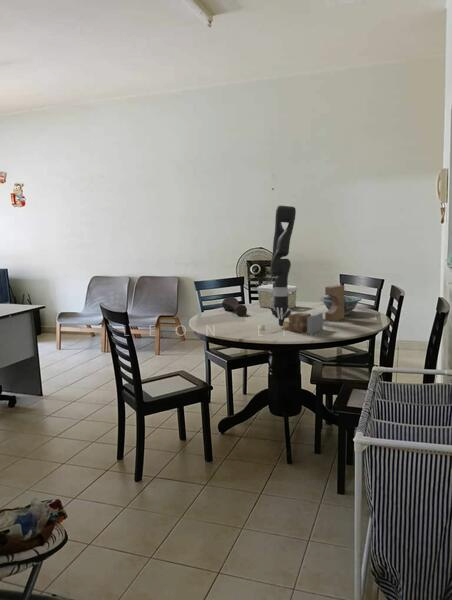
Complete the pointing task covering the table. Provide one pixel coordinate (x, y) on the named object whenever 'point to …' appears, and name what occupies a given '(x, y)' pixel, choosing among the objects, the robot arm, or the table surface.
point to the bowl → (349, 303)
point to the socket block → (298, 322)
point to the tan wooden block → (286, 325)
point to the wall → (314, 323)
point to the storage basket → (267, 295)
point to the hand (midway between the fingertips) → (281, 325)
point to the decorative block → (335, 303)
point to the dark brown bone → (234, 306)
